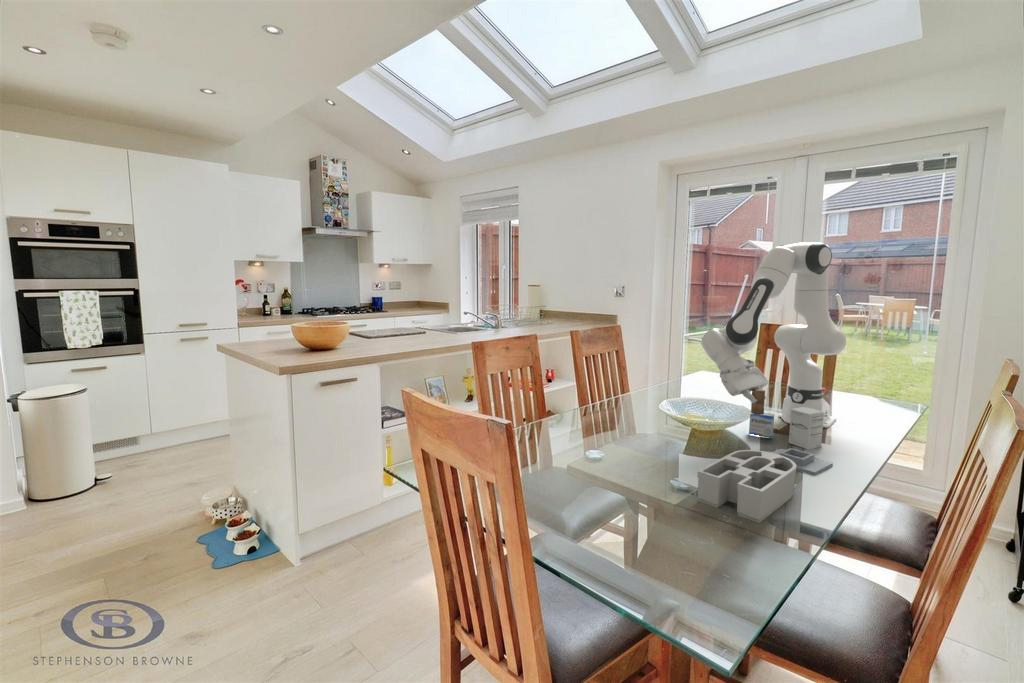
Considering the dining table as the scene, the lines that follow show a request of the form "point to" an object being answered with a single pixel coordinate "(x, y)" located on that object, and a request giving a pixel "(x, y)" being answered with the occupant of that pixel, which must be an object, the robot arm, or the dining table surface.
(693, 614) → the dining table surface
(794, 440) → the supplement box
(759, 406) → the knob
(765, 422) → the medicine box
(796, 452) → the hub plate
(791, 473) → the grey compartment organizer
